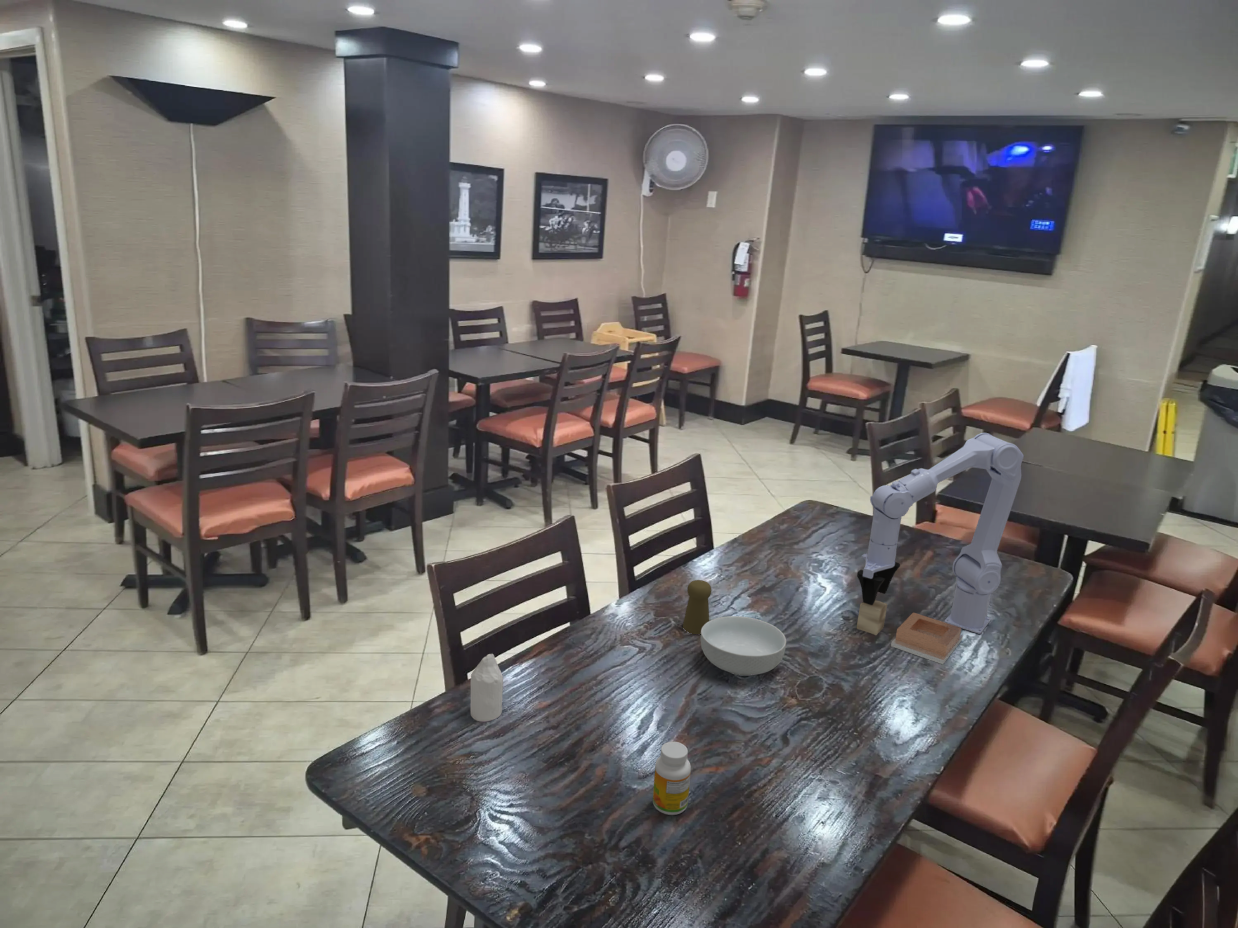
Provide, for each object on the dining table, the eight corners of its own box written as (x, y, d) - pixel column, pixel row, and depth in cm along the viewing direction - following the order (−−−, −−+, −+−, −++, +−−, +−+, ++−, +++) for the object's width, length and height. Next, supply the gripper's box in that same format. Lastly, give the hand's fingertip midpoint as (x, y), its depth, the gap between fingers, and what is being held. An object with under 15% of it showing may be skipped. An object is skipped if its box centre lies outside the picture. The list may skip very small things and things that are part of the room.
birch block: (864, 621, 185) (867, 597, 183) (883, 627, 182) (887, 603, 180) (856, 628, 181) (860, 604, 179) (876, 635, 179) (879, 610, 177)
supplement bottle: (650, 791, 126) (654, 738, 123) (684, 791, 126) (689, 737, 124) (654, 816, 121) (658, 761, 118) (690, 815, 121) (695, 760, 118)
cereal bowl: (791, 657, 167) (795, 626, 165) (770, 697, 153) (774, 664, 151) (713, 637, 174) (716, 607, 172) (686, 673, 160) (689, 641, 157)
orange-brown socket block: (912, 623, 185) (914, 609, 184) (962, 639, 178) (964, 625, 177) (890, 646, 174) (893, 631, 173) (942, 664, 168) (945, 649, 167)
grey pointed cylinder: (481, 641, 144) (509, 648, 142) (481, 699, 147) (508, 707, 146) (463, 656, 139) (492, 664, 137) (464, 717, 142) (492, 725, 140)
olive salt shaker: (708, 636, 174) (712, 590, 171) (680, 632, 175) (684, 586, 172) (711, 623, 180) (715, 578, 177) (684, 620, 181) (687, 574, 178)
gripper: (877, 527, 183) (869, 582, 187) (852, 544, 172) (844, 602, 176) (908, 535, 179) (899, 591, 183) (885, 554, 168) (875, 613, 172)
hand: (874, 597), depth 179 cm, fingers open, 7 cm apart
